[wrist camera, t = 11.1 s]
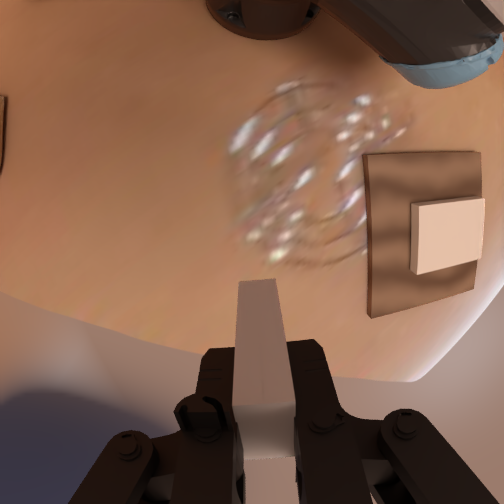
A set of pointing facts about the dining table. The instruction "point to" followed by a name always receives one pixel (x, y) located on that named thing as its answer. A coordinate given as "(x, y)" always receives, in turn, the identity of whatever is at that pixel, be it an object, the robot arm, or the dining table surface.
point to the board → (399, 225)
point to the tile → (446, 233)
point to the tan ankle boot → (1, 124)
